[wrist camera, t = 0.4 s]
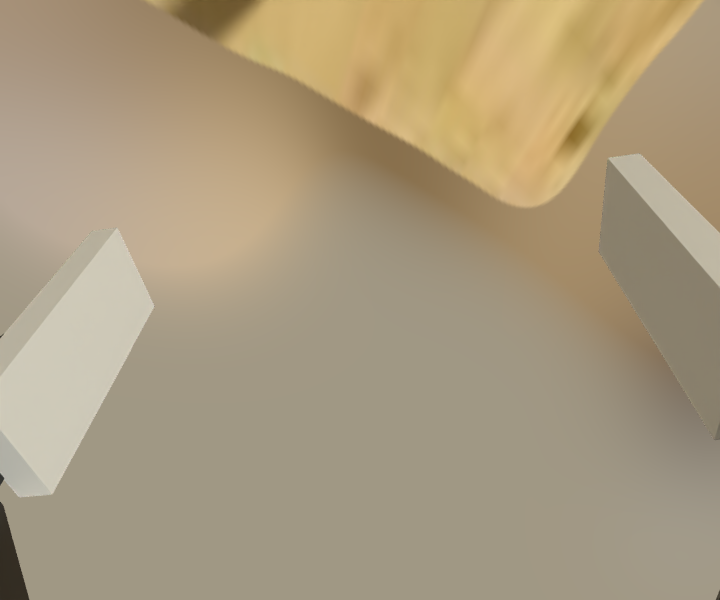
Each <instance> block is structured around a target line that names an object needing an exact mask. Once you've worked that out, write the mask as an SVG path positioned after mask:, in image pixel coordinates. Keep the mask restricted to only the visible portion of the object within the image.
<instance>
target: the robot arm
mask: <svg viewBox="0 0 720 600" xmlns="http://www.w3.org/2000/svg"><path fill="white" fill-rule="evenodd" d="M600 233H601V234H600V243H599V253H600V255H601V256H602V258H603V260H604V261H605V263H606V264H607V266H608V268H609V269H610V271H611V273H612V274H613V276H614V278H615V279H616V281H617V282H618V284H619V286H620V287H621V289H622V291H623V292H624V294H625V295H626V297H627V299H628V300H629V302H630V304H631V305H632V307H633V309H634V310H635V312H636V313H637V315H638V317H639V318H640V320H641V322H642V323H643V325H644V326H645V328H646V330H647V331H648V333H649V335H650V336H651V338H652V339H653V341H654V343H655V344H656V346H657V347H658V349H659V351H660V352H661V354H662V356H663V357H664V359H665V360H666V362H667V364H668V366H669V367H670V369H671V370H672V372H673V374H674V375H675V377H676V379H677V380H678V382H679V384H680V385H681V387H682V388H683V390H684V392H685V393H686V395H687V397H688V398H689V400H690V402H691V403H692V405H693V406H694V408H695V409H696V411H697V413H698V415H699V416H700V418H701V419H702V421H703V423H704V424H705V426H706V428H707V429H708V431H709V432H710V434H711V436H712V437H713V439H714V440H720V233H719V232H718V231H717V230H716V229H715V228H714V227H713V226H712V225H711V224H710V223H709V222H708V221H707V220H706V219H705V218H704V217H703V216H702V215H701V214H700V213H699V212H698V211H697V210H696V209H695V208H694V207H693V206H692V205H691V204H690V203H689V202H688V201H687V200H686V199H685V198H684V197H683V196H682V195H681V194H680V193H679V192H678V191H677V190H676V189H675V188H674V187H673V186H672V185H671V184H670V183H669V182H668V181H667V180H666V179H665V178H664V177H663V176H662V175H661V174H660V173H659V172H658V171H657V170H656V169H655V168H654V167H653V166H652V165H651V164H650V163H649V162H648V161H647V160H646V159H645V158H644V157H643V156H642V155H641V154H632V155H625V156H618V157H612V158H608V160H607V170H606V180H605V191H604V201H603V212H602V222H601V232H600ZM153 308H154V304H153V302H152V300H151V298H150V295H149V293H148V291H147V289H146V287H145V285H144V283H143V281H142V279H141V277H140V275H139V272H138V270H137V268H136V266H135V264H134V262H133V260H132V258H131V255H130V254H129V251H128V249H127V247H126V245H125V243H124V241H123V238H122V236H121V234H120V232H119V230H118V228H110V229H103V230H97V231H92V232H91V233H90V234H89V235H88V236H87V237H86V238H85V240H84V241H83V242H82V243H81V244H80V246H79V247H78V248H77V249H76V250H75V251H74V253H73V254H72V255H71V256H70V257H69V258H68V260H67V261H66V262H65V263H64V264H63V266H62V267H61V268H60V269H59V270H58V271H57V272H56V274H55V275H54V276H53V277H52V278H51V280H50V281H49V282H48V283H47V284H46V286H45V287H44V288H43V289H42V290H41V291H40V292H39V294H38V295H37V296H36V297H35V298H34V299H33V301H32V302H31V303H30V304H29V305H28V307H27V308H26V309H25V310H24V311H23V312H22V314H21V315H20V316H19V317H18V318H17V320H16V321H15V322H14V323H13V324H12V325H11V326H10V328H9V329H8V330H7V331H6V332H5V333H4V334H3V335H2V336H0V485H1V483H2V482H3V480H5V482H6V483H7V484H8V485H9V486H10V487H11V489H12V490H13V491H14V492H15V493H16V494H17V496H18V497H27V496H39V495H51V494H53V492H54V490H55V488H56V486H57V485H58V483H59V481H60V479H61V477H62V475H63V474H64V472H65V470H66V468H67V466H68V464H69V463H70V461H71V459H72V457H73V455H74V453H75V452H76V450H77V448H78V446H79V444H80V442H81V441H82V439H83V437H84V435H85V433H86V431H87V429H88V428H89V426H90V424H91V422H92V420H93V418H94V416H95V415H96V413H97V411H98V409H99V407H100V406H101V404H102V402H103V400H104V398H105V396H106V395H107V393H108V391H109V389H110V387H111V385H112V384H113V382H114V380H115V378H116V376H117V374H118V372H119V371H120V369H121V367H122V365H123V363H124V362H125V360H126V358H127V356H128V354H129V352H130V350H131V349H132V347H133V345H134V343H135V341H136V340H137V338H138V336H139V334H140V332H141V330H142V329H143V326H144V325H145V323H146V321H147V319H148V318H149V316H150V314H151V312H152V310H153ZM0 600H29V597H28V593H27V590H26V586H25V582H24V579H23V575H22V572H21V568H20V565H19V561H18V557H17V553H16V550H15V546H14V542H13V539H12V536H11V532H10V528H9V524H8V521H7V517H6V513H5V510H4V506H3V505H2V503H1V502H0ZM716 600H720V591H719V594H718V596H717V599H716Z"/></svg>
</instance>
